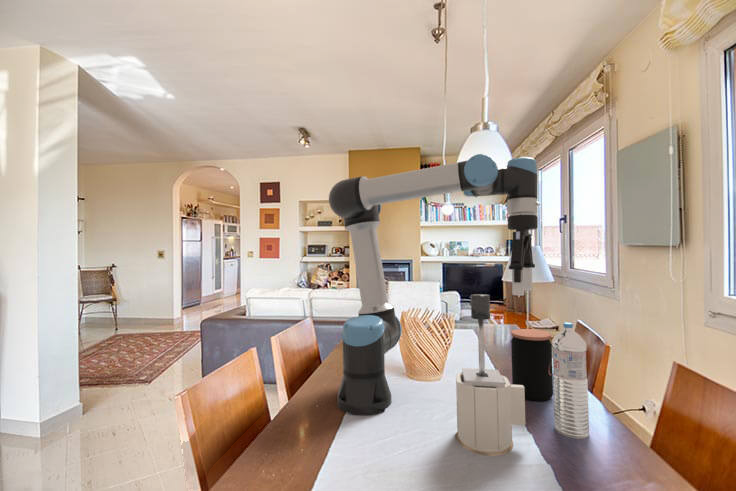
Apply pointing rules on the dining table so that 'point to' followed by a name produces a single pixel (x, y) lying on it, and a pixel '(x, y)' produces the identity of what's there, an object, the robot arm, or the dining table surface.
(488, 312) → the plunger
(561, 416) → the water bottle
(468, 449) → the cork trivet
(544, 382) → the coffee jar
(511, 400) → the press carafe
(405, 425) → the dining table surface
